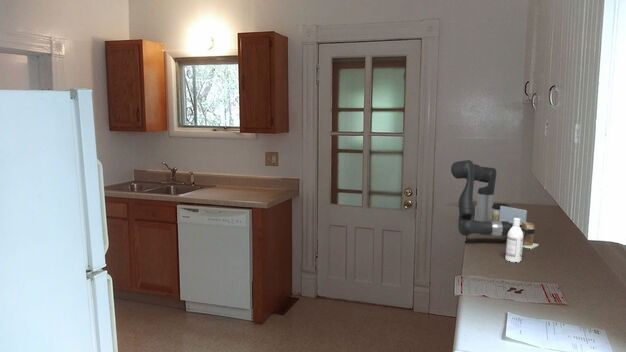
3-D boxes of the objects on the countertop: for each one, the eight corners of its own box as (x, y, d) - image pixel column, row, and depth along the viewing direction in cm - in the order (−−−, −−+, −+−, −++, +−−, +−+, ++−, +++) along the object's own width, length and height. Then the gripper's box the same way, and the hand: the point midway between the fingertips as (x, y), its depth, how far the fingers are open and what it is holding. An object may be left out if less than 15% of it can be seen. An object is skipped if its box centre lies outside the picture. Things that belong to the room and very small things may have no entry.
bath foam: (516, 257, 236) (520, 216, 233) (524, 262, 230) (528, 220, 226) (502, 258, 236) (506, 216, 232) (509, 263, 229) (513, 220, 226)
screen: (496, 235, 274) (498, 206, 272) (501, 233, 279) (503, 205, 276) (521, 240, 265) (524, 211, 262) (526, 238, 269) (528, 209, 266)
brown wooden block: (523, 245, 255) (525, 224, 253) (520, 242, 259) (522, 222, 257) (532, 245, 254) (534, 224, 253) (528, 242, 259) (530, 222, 257)
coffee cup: (488, 231, 281) (490, 205, 279) (491, 227, 290) (493, 202, 288) (507, 234, 277) (509, 207, 274) (509, 230, 286) (511, 204, 283)
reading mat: (513, 244, 257) (513, 243, 257) (521, 241, 263) (521, 240, 263) (531, 249, 251) (531, 247, 251) (538, 245, 257) (538, 244, 257)
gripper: (504, 225, 248) (537, 225, 248) (494, 217, 262) (525, 218, 262) (503, 239, 249) (536, 240, 249) (493, 231, 263) (524, 232, 263)
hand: (530, 229), depth 256 cm, fingers open, 8 cm apart
